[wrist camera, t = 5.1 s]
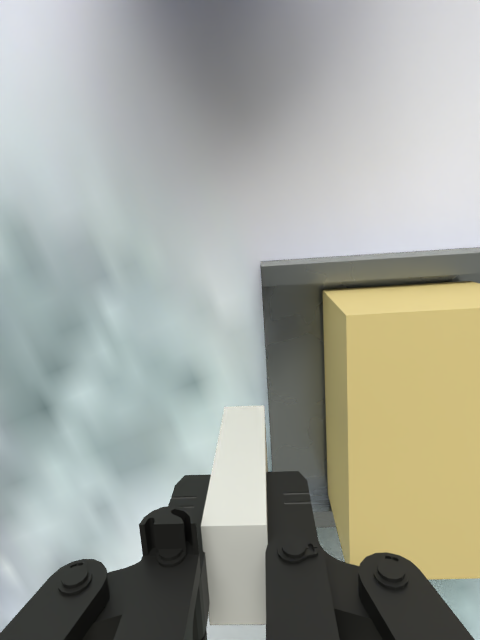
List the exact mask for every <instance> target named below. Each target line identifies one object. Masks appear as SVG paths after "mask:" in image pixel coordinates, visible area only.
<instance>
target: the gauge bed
mask: <svg viewBox="0 0 480 640" xmlns="http://www.w3.org/2000/svg"><path fill="white" fill-rule="evenodd" d="M261 278H262V296H263V313H264V330H265V348H266V365H267V383H268V400H269V417H270V435H271V452H272V470H273V472H281V471H299V472H300V473H301V474H302V475H303V476H304V478H305V479H306V480H307V482H308V487H309V494H310V499H311V504H312V510H313V515H314V521H315V526H316V527H336V524H335V520H334V516H333V512H332V508H331V504H330V500H329V496H328V479H327V441H326V404H325V366H324V328H323V290H329V289H345V288H362V287H378V286H395V285H411V284H428V283H444V282H461V281H473V282H476V283H480V247H477V248H462V249H446V250H431V251H415V252H400V253H384V254H369V255H354V256H338V257H323V258H307V259H292V260H276V261H261Z"/></svg>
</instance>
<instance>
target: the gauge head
mask: <svg viewBox="0 0 480 640" xmlns="http://www.w3.org/2000/svg"><path fill="white" fill-rule="evenodd" d="M323 328H324V366H325V404H326V441H327V479H328V496H329V500H330V504H331V508H332V512H333V516H334V520H335V524H336V528H337V532H338V536H339V540H340V544H341V548H342V552H343V555H344V559H345V563H349V564H353V565H357V566H360V563H361V562H362V561H363V560H364V558H365V557H367V556H369V555H372V554H374V553H384V552H388V553H392V554H396V555H400V556H402V557H404V558H406V559H408V560H410V561H411V562H412V563H413V564H414V565H415V566H417V567H418V568H419V569H420V571H421V572H422V573H423V574H424V576H425V577H426V578H427V579H469V578H480V283H476V282H473V281H461V282H444V283H428V284H411V285H395V286H378V287H362V288H345V289H329V290H323Z"/></svg>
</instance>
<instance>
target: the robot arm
mask: <svg viewBox="0 0 480 640" xmlns="http://www.w3.org/2000/svg"><path fill="white" fill-rule="evenodd" d="M139 528H140V536H141V543H142V551H143V557H142V560H141V561H140V562H138V563H136V564H135V565H132V566H129V567H127V568H124V569H120V570H116V571H113V572H109V573H107V570H106V568H105V566H104V565H103V564H102V563H101V562H99V561H96V560H94V559H82V560H78V561H74V562H71V563H69V564H67V565H65V566H63V567H61V568H60V569H59V570H57V571H56V572H55V573H54V574H53V575H52V576H51V577H50V578H49V579H48V580H47V581H46V582H45V583H44V585H43V586H42V587H41V588H40V589H39V590H38V591H37V592H36V594H35V595H34V596H33V597H32V598H31V599H30V600H29V601H28V603H27V604H26V605H25V606H24V607H23V608H22V609H21V610H20V612H19V613H18V614H17V615H16V616H15V617H14V618H13V620H12V621H11V622H10V623H9V624H8V625H7V626H6V627H5V629H4V630H3V631H2V632H1V633H0V640H207V632H206V626H207V619H208V611H209V622H210V625H266V640H474V639H473V637H472V636H471V635H470V633H469V632H468V631H467V630H466V628H465V627H464V626H463V624H462V623H461V622H460V621H459V619H458V618H457V617H456V615H455V614H454V613H453V612H452V610H451V609H450V608H449V606H448V605H447V604H446V603H445V601H444V600H443V599H442V597H441V596H440V595H439V594H438V592H437V591H436V590H435V588H434V587H433V586H432V585H431V583H430V582H429V581H428V579H427V578H426V577H425V576H424V574H423V573H422V572H421V571H420V569H419V568H418V567H417V566H415V565H414V564H413V563H412V562H411V561H410V560H408V559H406V558H404V557H402V556H400V555H396V554H392V553H388V552H384V553H374V554H372V555H369V556H367V557H365V558H364V560H363V561H362V562H361V563H360V566H357V565H353V564H349V563H345V562H342V561H339V560H337V559H335V558H333V557H332V556H330V555H329V554H328V553H326V552H325V551H324V550H323V548H322V547H321V546H320V544H319V541H318V537H317V532H316V526H315V521H314V515H313V510H312V504H311V499H310V494H309V487H308V482H307V480H306V479H305V478H304V476H303V475H302V474H301V473H300V472H299V471H281V472H268V467H267V447H266V428H265V409H264V405H263V406H236V407H224V411H223V416H222V421H221V427H220V432H219V437H218V442H217V447H216V452H215V457H214V462H213V467H212V472H211V475H185V476H184V477H183V478H182V479H181V480H180V481H179V482H178V483H177V484H176V485H175V488H174V491H173V494H172V498H171V500H170V503H169V506H168V507H162V508H159V509H157V510H154V511H152V512H151V513H149V514H148V515H147V516H145V517H144V518H143V520H142V521H141V523H140V524H139Z"/></svg>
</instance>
